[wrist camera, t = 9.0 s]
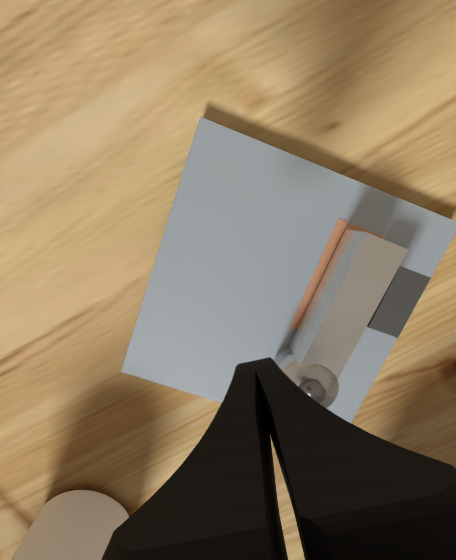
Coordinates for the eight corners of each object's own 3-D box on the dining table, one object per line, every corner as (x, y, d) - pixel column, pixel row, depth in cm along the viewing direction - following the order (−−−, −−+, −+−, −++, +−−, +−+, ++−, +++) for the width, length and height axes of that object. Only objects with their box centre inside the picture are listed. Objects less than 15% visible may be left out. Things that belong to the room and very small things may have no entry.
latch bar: (310, 393, 21) (326, 426, 18) (266, 378, 21) (274, 409, 18) (387, 246, 18) (422, 254, 15) (338, 226, 18) (363, 229, 15)
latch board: (448, 222, 19) (505, 225, 16) (336, 430, 23) (359, 474, 20) (201, 121, 18) (195, 97, 14) (125, 364, 22) (104, 398, 18)
